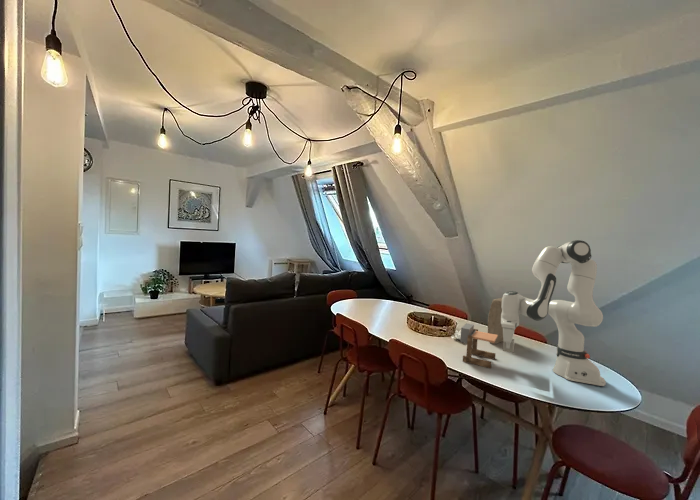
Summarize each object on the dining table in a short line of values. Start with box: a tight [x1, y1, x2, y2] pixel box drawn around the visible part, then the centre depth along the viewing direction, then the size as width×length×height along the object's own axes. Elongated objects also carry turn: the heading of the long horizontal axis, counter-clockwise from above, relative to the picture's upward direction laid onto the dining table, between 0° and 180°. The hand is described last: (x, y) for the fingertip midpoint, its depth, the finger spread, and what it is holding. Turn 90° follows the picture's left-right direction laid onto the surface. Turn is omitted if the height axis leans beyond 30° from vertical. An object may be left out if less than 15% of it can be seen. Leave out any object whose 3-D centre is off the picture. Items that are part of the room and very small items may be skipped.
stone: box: [502, 338, 515, 353], centre depth 169 cm, size 5×5×6 cm
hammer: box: [459, 323, 498, 344], centre depth 177 cm, size 18×14×8 cm
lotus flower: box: [450, 328, 473, 343], centre depth 209 cm, size 14×15×9 cm
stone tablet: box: [487, 297, 503, 345], centre depth 212 cm, size 20×8×30 cm, turn 130°
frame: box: [462, 328, 496, 369], centre depth 177 cm, size 14×18×15 cm
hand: (508, 346), depth 169 cm, fingers closed on stone, 5 cm apart
